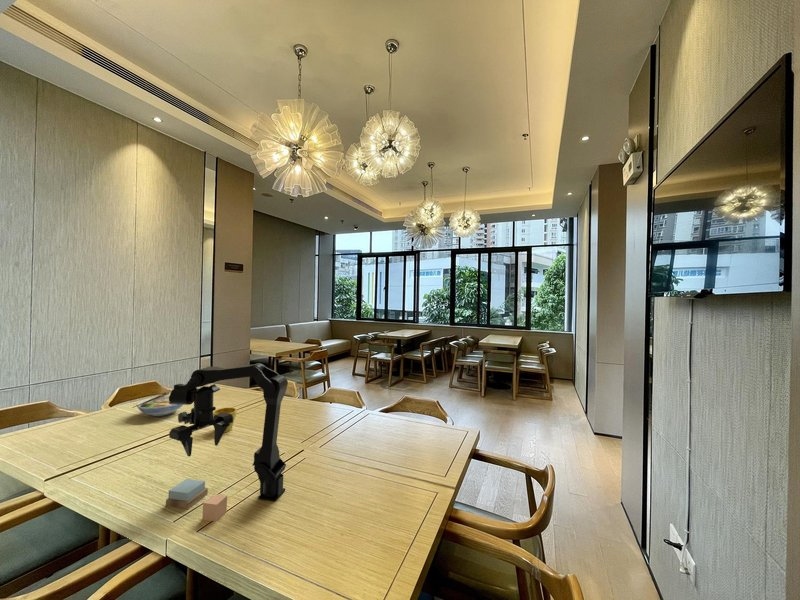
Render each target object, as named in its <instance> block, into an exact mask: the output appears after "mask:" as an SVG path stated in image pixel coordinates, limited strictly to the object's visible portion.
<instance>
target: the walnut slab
mask: <svg viewBox="0 0 800 600" xmlns="http://www.w3.org/2000/svg"><path fill="white" fill-rule="evenodd" d="M208 489H209V488H208V487H205V489H204V490H202V491H201V492H200V493H198V494H197V495H196V496H194V497H193V498H192V499H190V500H189V501H182V500H175V499H169V498H168V497H167V499H165V507H169V508H176V509H181V510H183V509H184V510H189V509H191V508H192V507H193V506H194V505H196V504H198V502H200V501H201V500H202V499H204V498H205V497H206V496H207V495H208V493H209V492H208Z"/></svg>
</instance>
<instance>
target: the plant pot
mask: <svg viewBox="0 0 800 600" xmlns="http://www.w3.org/2000/svg"><path fill="white" fill-rule="evenodd" d="M237 410H238V409H237V408H235V407H229V406H228V407H222V408H216V410H214V411H213V417H214V416H215V415H217V414H220V413H223V412H225V413H229V414H232V415H233V422H232V423H229V424H230V426H228V427H227V429H226V430H225V432H224V433H228V432H230V431H232V430H233V428H234V427H233V426H234V422H235V419H236V417H237V413H238V411H237Z"/></svg>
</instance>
